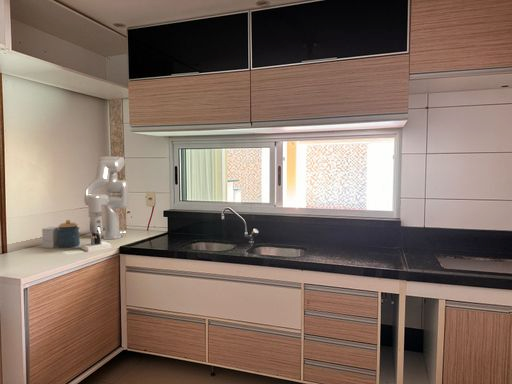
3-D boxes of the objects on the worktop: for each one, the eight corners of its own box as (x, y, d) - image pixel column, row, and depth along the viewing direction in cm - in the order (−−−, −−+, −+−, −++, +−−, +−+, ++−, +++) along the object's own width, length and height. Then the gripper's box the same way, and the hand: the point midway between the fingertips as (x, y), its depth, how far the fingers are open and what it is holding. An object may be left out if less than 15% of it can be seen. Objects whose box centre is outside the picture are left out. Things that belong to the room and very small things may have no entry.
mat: (78, 250, 216) (78, 249, 216) (84, 252, 209) (84, 251, 209) (61, 252, 209) (61, 252, 209) (66, 255, 202) (66, 254, 202)
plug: (99, 247, 222) (98, 234, 222) (101, 247, 220) (101, 235, 219) (91, 248, 219) (90, 236, 218) (93, 249, 216) (92, 236, 216)
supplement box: (60, 245, 229) (60, 226, 229) (53, 248, 222) (52, 228, 221) (50, 245, 230) (49, 226, 229) (42, 247, 223) (41, 228, 222)
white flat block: (103, 245, 228) (103, 241, 228) (111, 248, 220) (111, 244, 220) (81, 249, 218) (81, 244, 218) (88, 252, 210) (88, 247, 210)
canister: (68, 249, 218) (67, 221, 217) (52, 248, 222) (51, 221, 221) (84, 245, 230) (83, 219, 229) (69, 243, 234) (68, 218, 233)
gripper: (106, 215, 215) (107, 244, 216) (96, 213, 226) (97, 240, 227) (94, 216, 209) (95, 246, 211) (84, 214, 221) (85, 242, 222)
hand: (96, 243), depth 219 cm, fingers closed on plug, 3 cm apart
